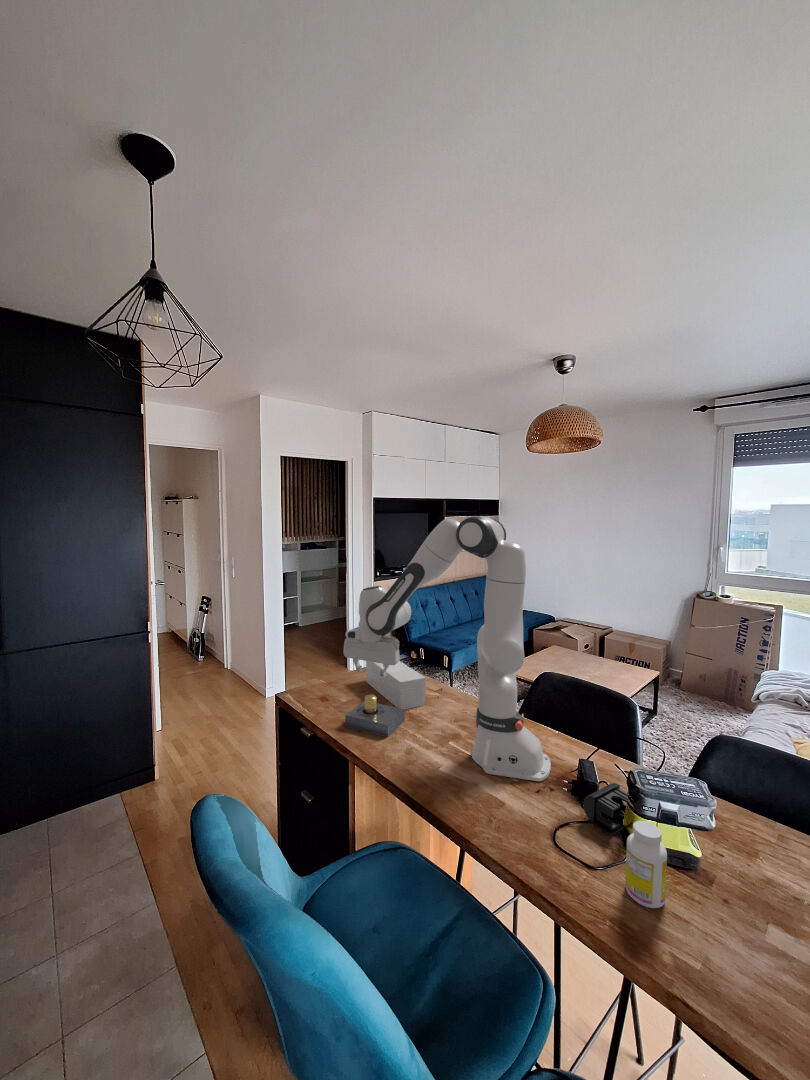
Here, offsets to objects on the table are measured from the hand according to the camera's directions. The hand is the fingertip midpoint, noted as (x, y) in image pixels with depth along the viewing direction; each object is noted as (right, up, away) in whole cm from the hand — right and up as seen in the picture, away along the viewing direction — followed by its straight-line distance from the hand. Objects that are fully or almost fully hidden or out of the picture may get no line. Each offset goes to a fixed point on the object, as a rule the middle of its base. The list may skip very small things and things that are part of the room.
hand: (370, 673), depth 149 cm
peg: (0, -16, +1) cm, 16 cm away
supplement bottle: (+57, -22, -67) cm, 90 cm away
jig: (+2, -17, 0) cm, 17 cm away
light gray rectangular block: (+7, -16, +27) cm, 33 cm away
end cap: (+60, -21, -46) cm, 78 cm away
